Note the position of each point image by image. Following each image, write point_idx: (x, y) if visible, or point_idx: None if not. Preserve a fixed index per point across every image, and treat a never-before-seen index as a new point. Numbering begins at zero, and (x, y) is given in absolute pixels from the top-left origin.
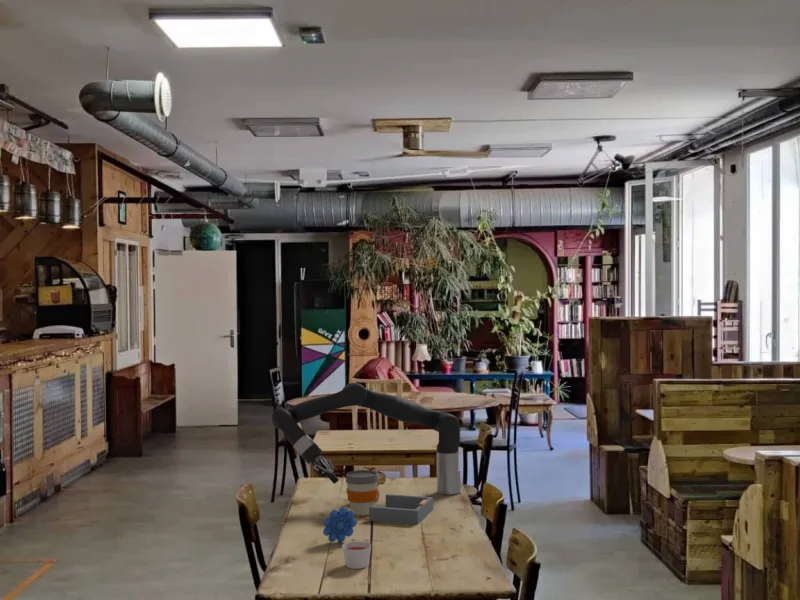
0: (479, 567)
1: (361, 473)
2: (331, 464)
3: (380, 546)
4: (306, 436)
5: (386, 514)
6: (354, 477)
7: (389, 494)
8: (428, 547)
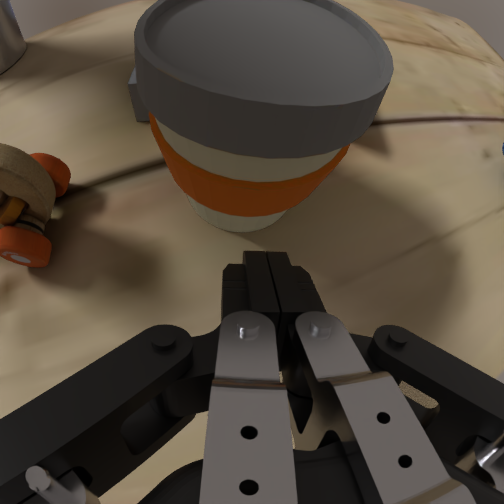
0: (442, 20)
1: (196, 41)
2: (60, 403)
3: (476, 104)
4: None
5: None
6: (389, 56)
7: (131, 75)
8: (429, 43)
